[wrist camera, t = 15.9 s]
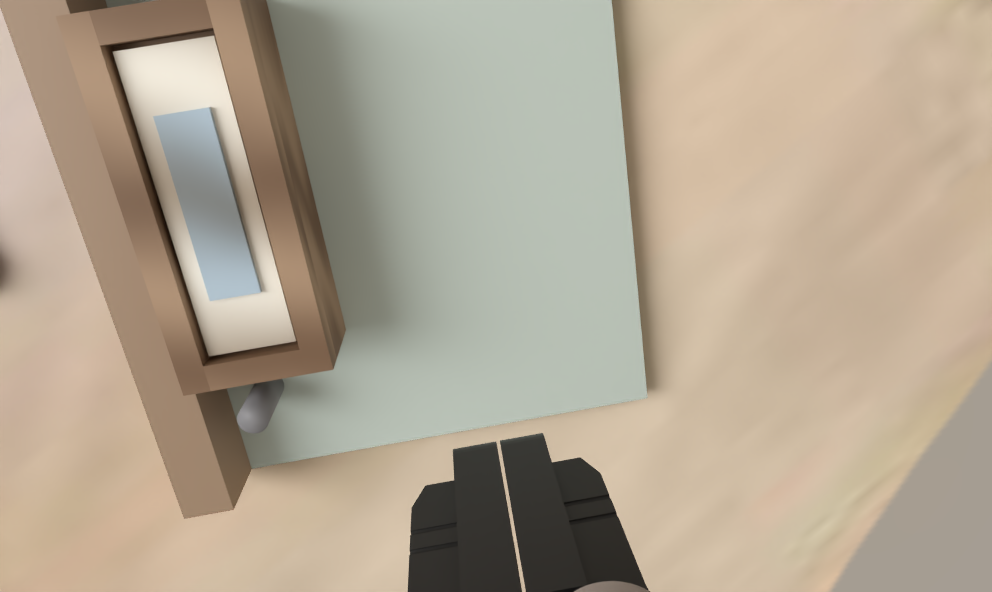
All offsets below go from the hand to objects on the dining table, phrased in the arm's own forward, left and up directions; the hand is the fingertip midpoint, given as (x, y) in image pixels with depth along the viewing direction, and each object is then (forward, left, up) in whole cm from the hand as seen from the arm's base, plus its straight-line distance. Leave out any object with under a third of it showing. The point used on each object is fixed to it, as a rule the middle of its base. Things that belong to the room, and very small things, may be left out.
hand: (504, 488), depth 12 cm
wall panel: (+3, +3, -19) cm, 19 cm away
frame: (+3, +8, -18) cm, 20 cm away
